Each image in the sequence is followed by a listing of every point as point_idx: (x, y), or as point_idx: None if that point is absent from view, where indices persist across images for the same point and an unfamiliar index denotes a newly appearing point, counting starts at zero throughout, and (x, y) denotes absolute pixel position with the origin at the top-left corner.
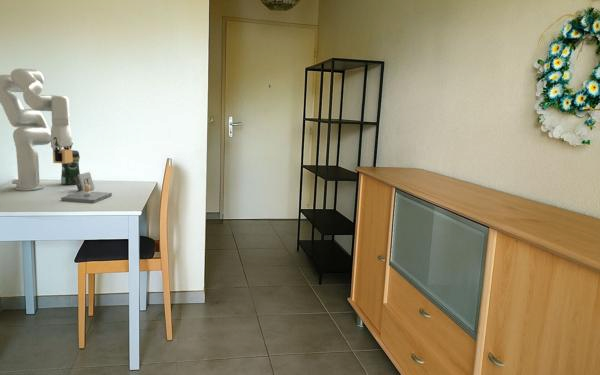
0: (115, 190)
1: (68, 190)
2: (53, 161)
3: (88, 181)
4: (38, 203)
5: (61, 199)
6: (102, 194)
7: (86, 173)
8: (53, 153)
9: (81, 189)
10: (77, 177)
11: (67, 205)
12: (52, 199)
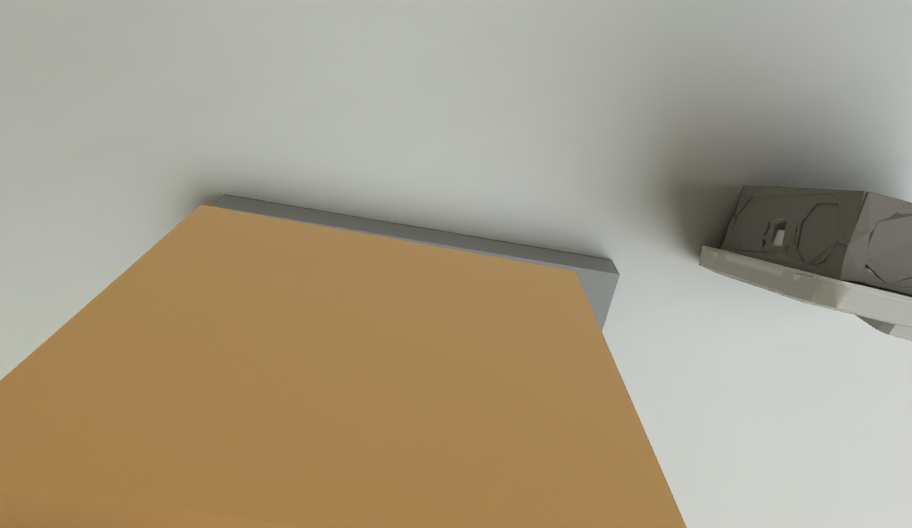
0: (793, 492)
1: (814, 45)
2: (183, 224)
3: (870, 321)
4: (17, 15)
5: (219, 202)
6: None
7: None
8: (27, 386)
9: (734, 234)
10: (834, 248)
11: (51, 325)
12: (257, 78)
